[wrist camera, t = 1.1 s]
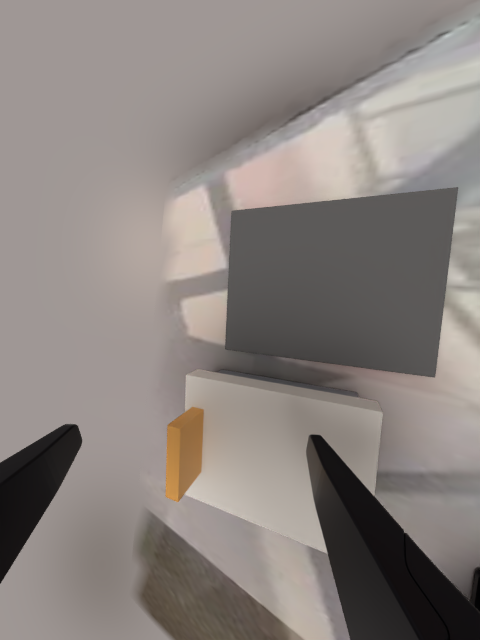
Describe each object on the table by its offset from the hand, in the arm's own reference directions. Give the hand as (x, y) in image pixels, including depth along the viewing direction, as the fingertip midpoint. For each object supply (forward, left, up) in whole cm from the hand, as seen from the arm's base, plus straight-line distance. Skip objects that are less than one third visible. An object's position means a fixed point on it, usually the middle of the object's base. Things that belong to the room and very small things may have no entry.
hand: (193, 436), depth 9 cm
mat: (+7, -4, -16) cm, 18 cm away
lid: (-8, -1, -12) cm, 14 cm away
